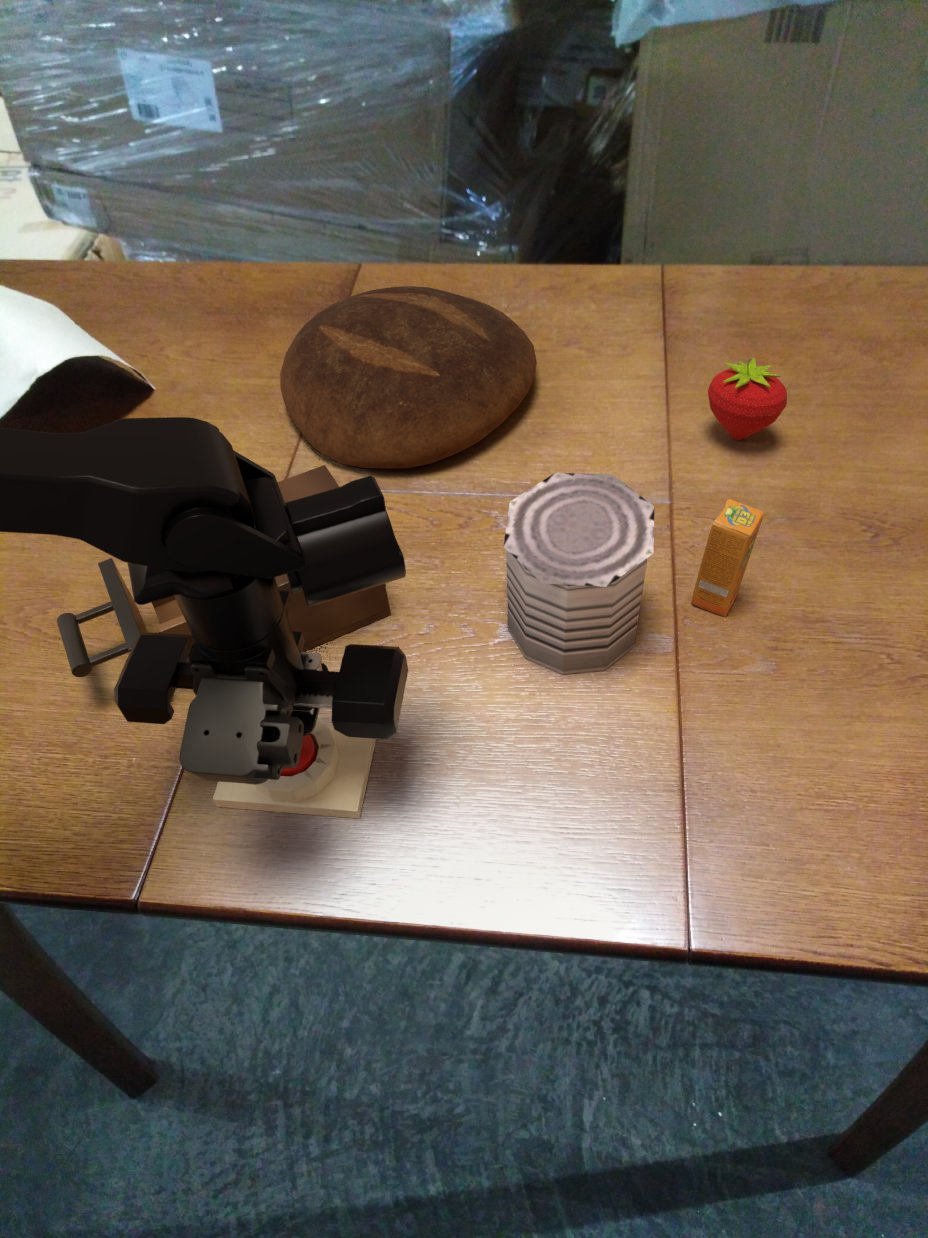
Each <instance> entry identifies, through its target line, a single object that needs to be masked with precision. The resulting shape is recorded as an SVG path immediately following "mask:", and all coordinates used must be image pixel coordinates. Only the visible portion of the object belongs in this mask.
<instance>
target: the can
mask: <svg viewBox="0 0 928 1238" xmlns="http://www.w3.org/2000/svg"><path fill="white" fill-rule="evenodd" d="M655 510H656V509H655V506H654V505H653V504H651V503H650V502H649V501H648V500H646V499H645V498H644V497H643V496H641V494H639V493H637V492H636V491H635V490H634V489H632V488H631V487H630V486H628V484H626V483H625V482H623V481H622V479H620V478H618V477H617V476H616V475H615V474H607V473H605V474H604V473H579V472H578V473H577V472H575V473H573V472H553V473H552V474H551V475H549V476H548V477H545V478H544V479H543V480H541V481H540V482H538V483H537V484H535V485H534V486H532V487H531V488H529V489H527V490H526V491H524V492H523V493H521V494H519V495H518V496H516V497H515V498H513V499H512V500H510V501H509V506H508V513H507V521H506V527H505V531H504V534H505V535H504V540H503V541H504V542H503V548H504V550H505V554H506V555H505V559H506V560H505V562H506V565H505V567H506V602H507V604H506V605H507V607H506V608H507V611H506V612H507V631H508V632H509V634H510V635H511V637H512V639H513V640H514V642H515V643H516V645H517V647H518V648H519V650H520V652H521V653H522V655H523V657H524V659H526V660H528V661H530V662H532V663H534V664H537V665H539V666H542V667H544V668H546V669H549V670H550V671H553V672H556V673H558V674H560V675H562V676H565V675H574V674H585V673H593V672H594V673H595V672H603V671H607V670H608V669H609V668H610V667H611V666H613V665H614V664H615V663H616V662H618V661H619V660H620V659H621V658H622V657H624V656H625V655H626V654H627V653H629V652H630V651H631V650H633V649H634V648H635V643H636V642H635V641H636V636H637V628H638V623H639V622H638V621H639V618H640V617H639V615H640V610H641V604H642V597H643V591H644V585H645V584H644V583H645V578H646V571H647V564H648V558H650V557H651V556H653V555H654V545H655V542H654V541H655Z"/></svg>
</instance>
